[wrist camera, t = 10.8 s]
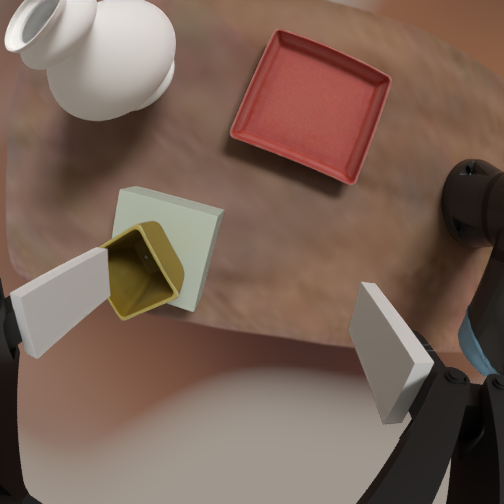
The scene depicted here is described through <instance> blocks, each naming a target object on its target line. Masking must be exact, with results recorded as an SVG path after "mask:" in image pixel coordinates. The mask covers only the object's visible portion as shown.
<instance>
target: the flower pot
mask: <svg viewBox="0 0 504 504" xmlns="http://www.w3.org/2000/svg"><path fill="white" fill-rule="evenodd" d="M98 248H105V249H107V251H108V271H109V285H110V297H108V298H107V299H108V301H109V302H110V304H111V306H112V307H113V309H114V311H115V312H116V314H117V315H118V317H119V318H120V319H121V320H122V321H125V320H128V319H129V318H132V317H134V316H137V315H139V314H141V313H144V312H146V311H148V310H151V309H153V308H156V307H158V306H160V305H163V304H165V303H167V302H170V301H172V300H174V299H176V298H178V297H179V294H180V291H181V288H182V284H183V281H184V276H185V274H184V268H183V266H182V263H181V262H180V260H179V258H178V256H177V254H176V253H175V251H174V249H173V247H172V245H171V243H170V242H169V240H168V238H167V236H166V234H165V232H164V230H163V228H162V227H161V225H160V224H159V223H158V222H156V221H149V222H144V223H140V224H135V225H133V226H132V227H130V228H128V229H127V230H125V231H124V232H122V233H120V234H119V235H117V236H116V237H114V238H113V239H111V240H109V241H108V242H106V243H105V244H103V245H101V246H100V247H98ZM145 255H146V256H147V257H148V259H145V258H144V256H145Z"/></svg>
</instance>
